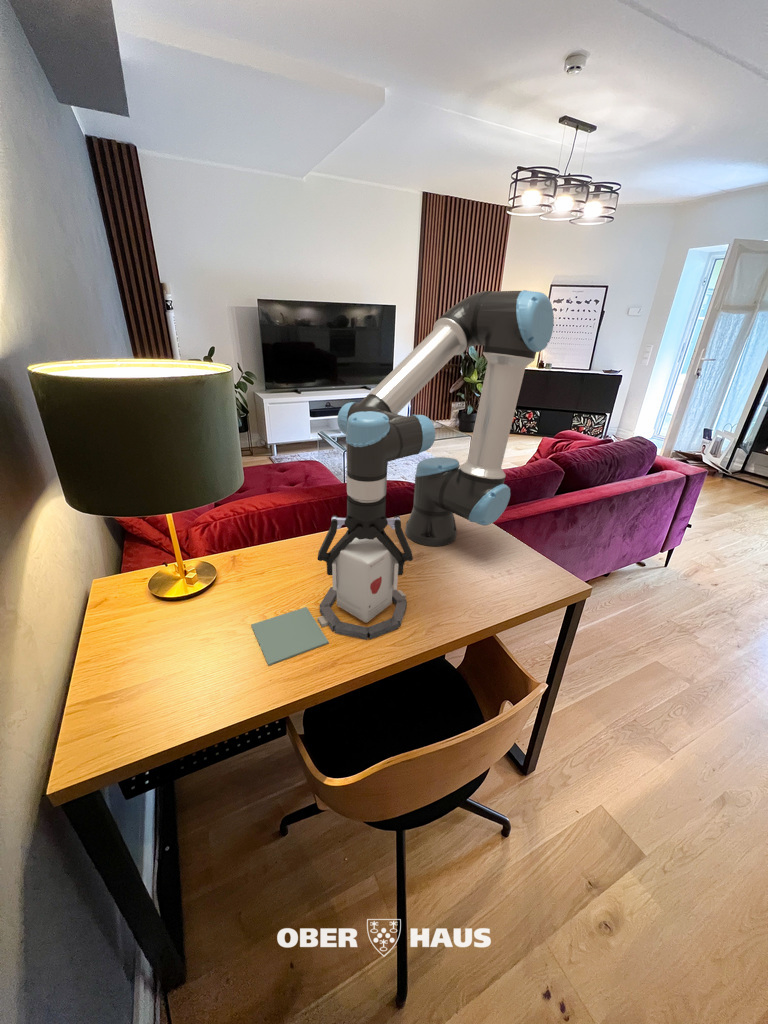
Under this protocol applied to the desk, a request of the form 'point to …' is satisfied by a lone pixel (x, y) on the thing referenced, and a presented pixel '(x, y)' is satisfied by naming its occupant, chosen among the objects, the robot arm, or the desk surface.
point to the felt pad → (288, 635)
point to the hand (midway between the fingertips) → (365, 586)
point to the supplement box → (364, 578)
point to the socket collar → (357, 630)
